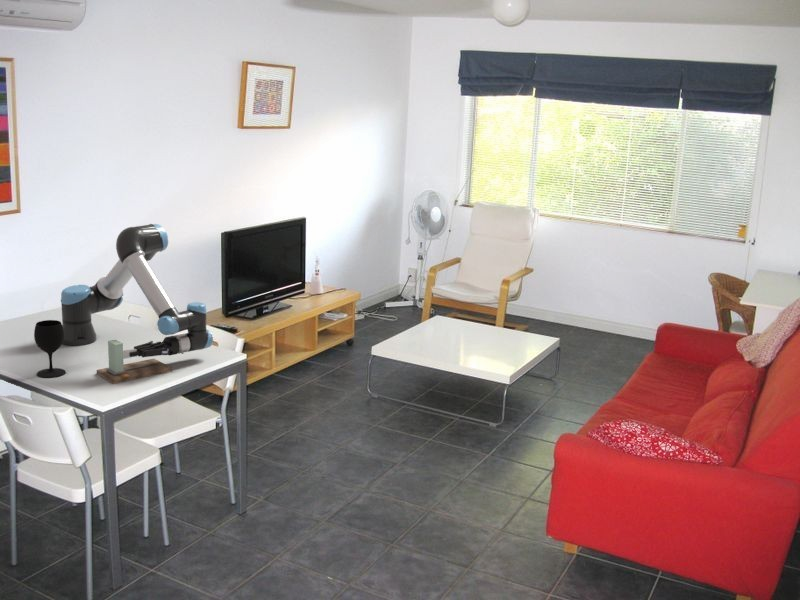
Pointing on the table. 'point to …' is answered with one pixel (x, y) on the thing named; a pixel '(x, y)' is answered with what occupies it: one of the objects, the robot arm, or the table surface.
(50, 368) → the wine glass
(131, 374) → the brown wooden board
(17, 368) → the table surface
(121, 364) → the block
